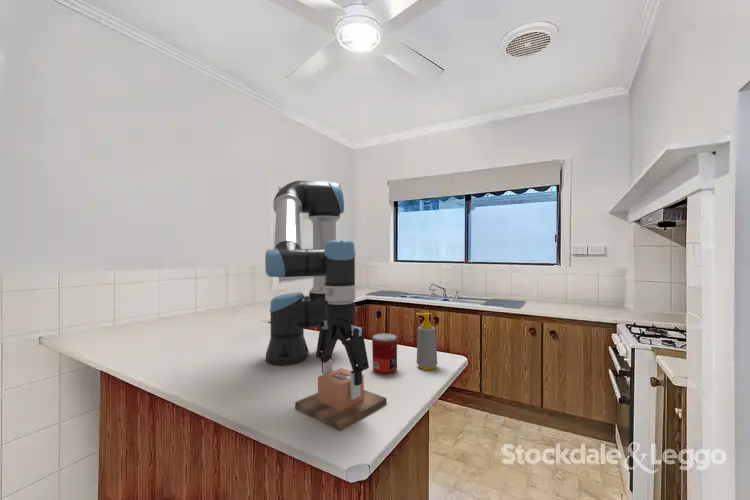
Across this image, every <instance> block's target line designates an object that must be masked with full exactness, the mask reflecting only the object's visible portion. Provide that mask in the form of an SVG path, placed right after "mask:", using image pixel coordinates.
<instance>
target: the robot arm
mask: <svg viewBox="0 0 750 500" xmlns="http://www.w3.org/2000/svg"><path fill="white" fill-rule="evenodd" d="M272 207H273V211H274V213H275V223H274V224H275V228H274V245H273V248H270V249H267V250H266V251H265V255H264V256H265V259H264V260H265V263H264V264H265V267H264V268H265V274H266V275H267V276H268V277H270V278H280V279H281V278H282V279H283V278H296V277H300V278H301V277H312V278H313V279H312V281H313V282H312V285H313V286H312V288H311V289H310V290H309V292H308V293H309V295H308V296H307V295H305V296H304V293H303V292H291V293H285V294H280V295H277V296H274V297H273V298H272V299H271V300H270V306H269V307H270V308H269V309H270V310H269V312H270V339H269V342H268V346H267V348H266V353H265V362H266V363H268V364H270V365H275V366H288V365H294V364H299V363H302V362H305V361H306V360H308V359H309V358H310V357H309V356H310V355H309V353H310V352H309V351H310V350H309V347H308V345H307V342H306V338H305V335H304V334H305V333H304V329H314V328H319V330H318V331H319V332H318V338H317V346H316V352H315V358H316V359H319V360H320V363H321V373H322V375H325V374H327V373H330V372H332V371H334V368H333V365H334V361H333V360H332V359H333V357H332V355H333V353H334V349H335V346H336V345H337V342H338V341H340V342H341V344H342V345H343V346H344V349H345V351H346V355H347V357H348V361H349V362H350V367H351V368H352V369H351V370H350V371H351V372H350V399H351V400H354V399H356V398H358V397H360V396H361V394H360V384H362V375H363V371H366V370H368V369H369V368H370V365H369V359H368V354H367V349H366V343H365V337H364V334H365V327H363V326H360V327H358V326H356V325H355V323H354V319H355V317H356V303H355V302H354V301H356V276H355V275H356V250H355V243H354V241H353V240H347V239H346V240H345V239H344V240H343V239H342V240H339V239H337V222H338V221H339V220H340V218H341V214H344V212H345V198H344V192H343V189H342V186H341V185H340V184H339V183H338V182H333V181H329V180H328V181H321V180H320V181H315V180H313V181H312V180H295V181H291V182H289V183H287V184H285V185H284V186H283V187H281V188H280V189H279V190H278V191H277V193H276V194H275V196H274V199H273V206H272ZM301 213H302V214H305V213H306V214H308V219H309V220H310V221H311V223H312V248H302V240H301V239H302V237H301V223H300V222H301V221H300V220H301V218H300V215H301Z"/></svg>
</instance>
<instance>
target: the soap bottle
mask: <svg viewBox="0 0 750 500" xmlns="http://www.w3.org/2000/svg"><path fill="white" fill-rule="evenodd" d="M431 314H432V313H431V312H422V313H421V312H416V313H415V315H417V316H421V317H423V318H424V320H423V321H422V324H420V326H418V328H417V337H416V339H417V341H416V343H417V344H416V364H417V366H418V368H419V369H420V370H424V371H432V370H434V369H436V366H437V365H438V353H437V334H436V328H435V327H434V326H432V325H433V324H431V321H430V320H429V315H431Z"/></svg>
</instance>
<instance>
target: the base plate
mask: <svg viewBox="0 0 750 500" xmlns="http://www.w3.org/2000/svg"><path fill="white" fill-rule="evenodd" d="M334 377H335V378H337V379H340V380H344V379H346V377H348V376H346V375H343V374H340V373H339V374H337V375H334ZM385 405H387V397H386V396H383V395H380V394H376V393H374V392H371V391H368V390H366V389H364V399H363V400H361V401H359V402H357V403H355V404H353V405H351V406H349V407H348V408H346V409H344V410H342V411H339V410H337V409H334V408H332V407H330V406H328V405H326V404H323V403H321V402H319V401H318V392H316V393H313V394H311V395H309V396H306V397H304V398H302V399H299V400H297V401H295V402H294V406H295V409H296V410H298V411H300V412H302V413H305V414H306V415H308V416H310V417H312V418H314V419H315V420H318V421H320V422H322V423H324V424H326V425H328V426H329V427H331V428H334V429H335V430H337V431H342V430H344V429H346V428H348V427H349V426H351V425H352V424H354V423H356V422H358V421H359V420H361V419H362V418H365V417H366V416H368V415H370V414H372V413H374V412H375V411H377V410H378V409H380V408H382V407H383V406H385Z"/></svg>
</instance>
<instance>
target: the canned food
mask: <svg viewBox="0 0 750 500" xmlns="http://www.w3.org/2000/svg"><path fill="white" fill-rule="evenodd" d="M371 339H372V347H371V349H372V370H373V372H375V373H376V374H379V375H391V374H394V373H396V372H397V369H398V338H397V335H396V334H392V333H377V334H373V335H372V338H371Z"/></svg>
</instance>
